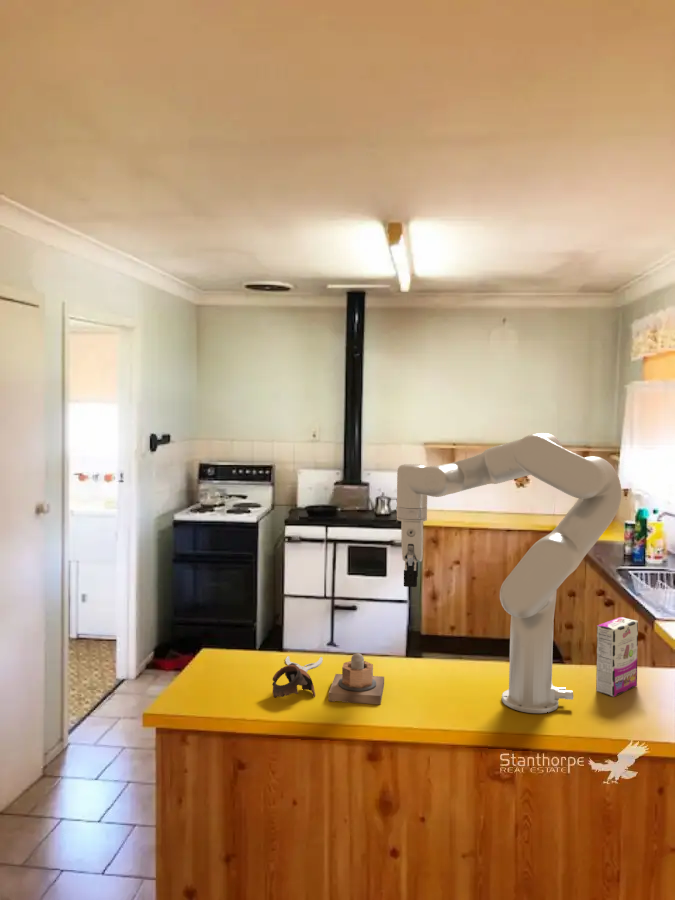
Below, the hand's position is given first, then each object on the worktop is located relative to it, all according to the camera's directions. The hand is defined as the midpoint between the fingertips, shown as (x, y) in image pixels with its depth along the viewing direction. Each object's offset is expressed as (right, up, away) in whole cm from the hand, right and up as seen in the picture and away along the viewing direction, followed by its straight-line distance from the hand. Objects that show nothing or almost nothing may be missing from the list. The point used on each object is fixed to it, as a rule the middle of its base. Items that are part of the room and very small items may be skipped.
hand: (410, 581), depth 180 cm
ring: (-14, -22, -9) cm, 28 cm away
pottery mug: (-29, -25, -10) cm, 39 cm away
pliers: (-28, -24, +7) cm, 38 cm away
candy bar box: (+49, -25, -5) cm, 56 cm away
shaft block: (-14, -25, -9) cm, 30 cm away
